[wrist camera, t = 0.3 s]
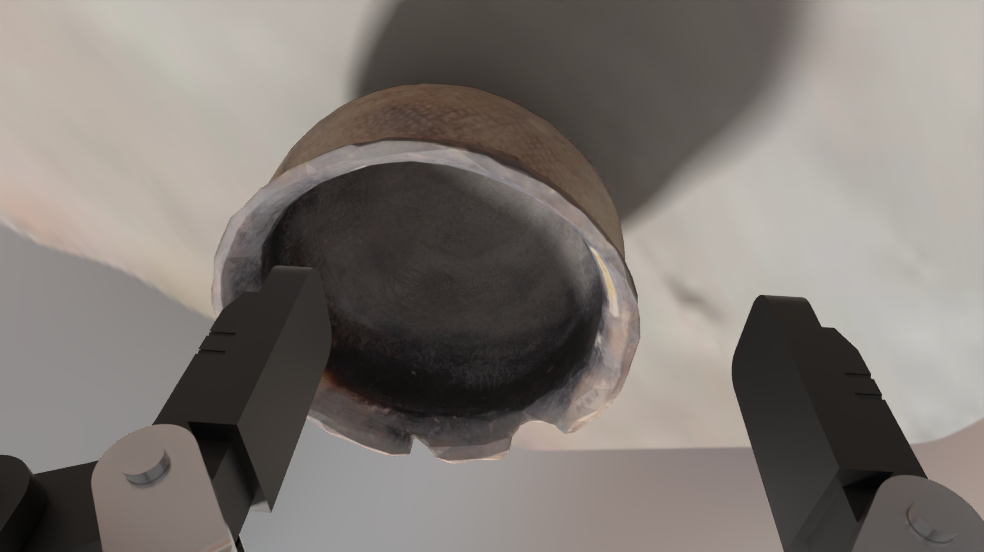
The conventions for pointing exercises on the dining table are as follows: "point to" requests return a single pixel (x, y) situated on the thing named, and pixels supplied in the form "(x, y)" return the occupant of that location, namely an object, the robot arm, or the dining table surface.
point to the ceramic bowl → (446, 270)
